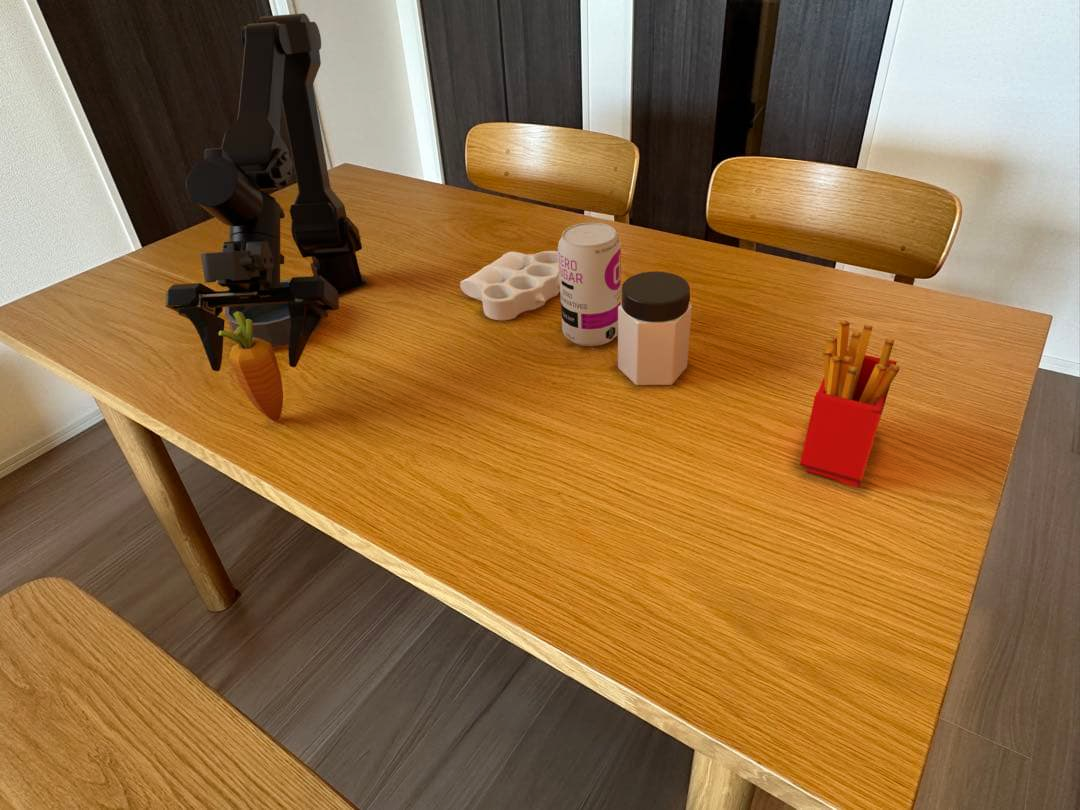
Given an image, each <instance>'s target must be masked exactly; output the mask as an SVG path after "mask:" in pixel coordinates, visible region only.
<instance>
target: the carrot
mask: <svg viewBox="0 0 1080 810" xmlns="http://www.w3.org/2000/svg"><path fill="white" fill-rule="evenodd" d="M233 315H234V317H235V319H236V321H237V323H238V324H239V327H238V328H237V329H236V330H235V331H234V333H235V335H236V336H235V335H234V334H232V332H231V331H227V330H224V331H219V336H224V337H223V338H227V339H230V340H232V341H234V342H235V343H236V344H234V345H233V346H232V347H231V349H230V352H229V355H228V357H229V358H228V359H229V363H230V366H231V368H232V370H233V373H234V375H235V377H236V379H237V381H238V383H239V385H240V387H241V389H242V390H243V392H244V393H245V395H246V397H247V398H248V399H249V400H250V401H251V403H252V405H253V406H254V407H255V408H256V409H257V410H258V411H259V412H260V413H261V414H262V415H264V416H265V417H267V418H268V419H270V421H273V422H278V421H279V420H280V419H281V416H282V411H283V406H284V389H283V388H284V387H283V381H282V380H283V379H282V375H281V371H280V370H281V369H280V367H279V363H278V359H277V357H276V354H275V351H274V347H272V345H271V344H270V343H269V342H267V341H264V340H262V339H259V338H252V332H253V321H252V320H250V319H245V317H244V315H243V313H242V312H235V313H234V314H233Z"/></svg>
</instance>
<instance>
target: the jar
mask: <svg viewBox="0 0 1080 810" xmlns="http://www.w3.org/2000/svg"><path fill="white" fill-rule="evenodd" d="M690 291H691V288H690V284H689V282H688V281H687V280H686V279H685V278H683V277H681V276H680V275H678V274H675V273H671V272H667V271H657V270H656V271H655V270H654V271H645V272H644V271H643V272H640V273H637V274H634V275H631V276H630V277H628V278H627V279H626V280H625V281H623V284H621V303H620V306H619V307H618V335H617V368H618V370H619V371H620V372H622V373H623V375H625V376H626V377H627V378H628V379H629V380H630V381H631V382H632V383H633V384H634V385H636V386H672V385H673V384H674V383H675V382H676V381H677V380H678V378H679V377H680V376H681V375H682V373H683V372H684V371H685V370H687V368H688V363H689V362H688V361H689V348H690V336H691V335H690V334H691V326H692V325H691V324H692V310H693V309H692V308H693V305H692V304H691V303H690V301H691V292H690Z"/></svg>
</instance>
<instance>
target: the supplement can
mask: <svg viewBox="0 0 1080 810" xmlns="http://www.w3.org/2000/svg"><path fill="white" fill-rule="evenodd" d="M557 251H558V261H559V279H560V292H559V294H560V295H559V296H560V313H561V315H560V316H561V328H562V329H561V331H562V334H563V335H564V337H565V338H566V339H568V340H569V341H571V342H572V343H573V344H575V345H578V346H583V347H597V346H598V347H599V346H602V345H605V344H608V343H610V342H611V341H613V340H614V338H616V337H618V307H619V306H620V305H621V299H622V284H621V281H622V277H621V275H622V268H621V267H622V266H621V265H622V264H621V262H622V261H621V260H622V259H621V258H622V256H621V255H622V243H621V239H620V238H619V236H618V234H617V230H616V229H615V228H614V227H612V226H611V225H609V224H607V223H601V222H582V223H577V224H574V225H570V226H569V227H567V228H565V229H564V230H563V231H562V233H561V237H560V239H559V241H558V244H557Z"/></svg>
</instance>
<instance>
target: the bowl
mask: <svg viewBox="0 0 1080 810" xmlns="http://www.w3.org/2000/svg"><path fill="white" fill-rule="evenodd" d="M290 280H291V279H287V280H280V285H281V286H282V287H289V282H290ZM244 298H245V297H244ZM239 299H243V298H239ZM235 312H242V313H243V315H244V317H245V319H250V320H252V321H253V332H252V338H259V339H262V340H264V341H267V342H269V343H270V344H271V345H272V347H273V348H279V347H283V346H284V347H285V346H287V345H289V335H290V315H289V310H288V306H287V304H270V305H253V306H236V307H224V316H225V320H226V322H227V325H228V326H229V329H230V332H231V333H232V334H234V335H235V333H234V331H235V330H236V329H237V328H238V327H239V324H238V323H237V321H236V319H235V317H234V315H233V314H234V313H235ZM323 320H324V318H322V319H321V320H320V321H319V323H318V325H317V326H316V328H315V329H314V331H313V332H315V331H316V330H317V329H318V328H319V327H320V326H321V324H322V322H323ZM235 336H236V335H235Z"/></svg>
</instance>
